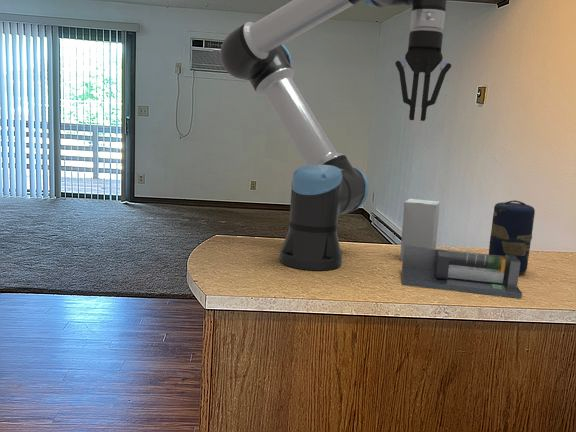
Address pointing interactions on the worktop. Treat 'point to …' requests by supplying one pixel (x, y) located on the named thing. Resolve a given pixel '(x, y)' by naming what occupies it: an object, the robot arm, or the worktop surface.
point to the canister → (512, 231)
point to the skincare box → (419, 224)
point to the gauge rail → (423, 262)
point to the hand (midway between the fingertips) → (415, 134)
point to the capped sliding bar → (467, 270)
